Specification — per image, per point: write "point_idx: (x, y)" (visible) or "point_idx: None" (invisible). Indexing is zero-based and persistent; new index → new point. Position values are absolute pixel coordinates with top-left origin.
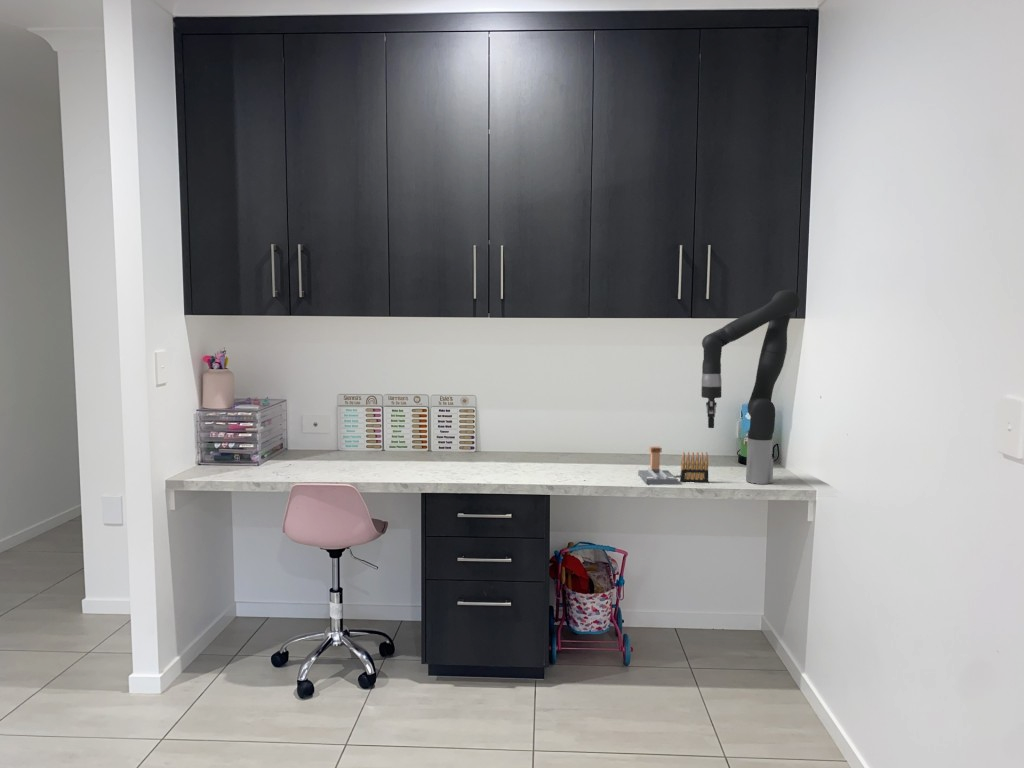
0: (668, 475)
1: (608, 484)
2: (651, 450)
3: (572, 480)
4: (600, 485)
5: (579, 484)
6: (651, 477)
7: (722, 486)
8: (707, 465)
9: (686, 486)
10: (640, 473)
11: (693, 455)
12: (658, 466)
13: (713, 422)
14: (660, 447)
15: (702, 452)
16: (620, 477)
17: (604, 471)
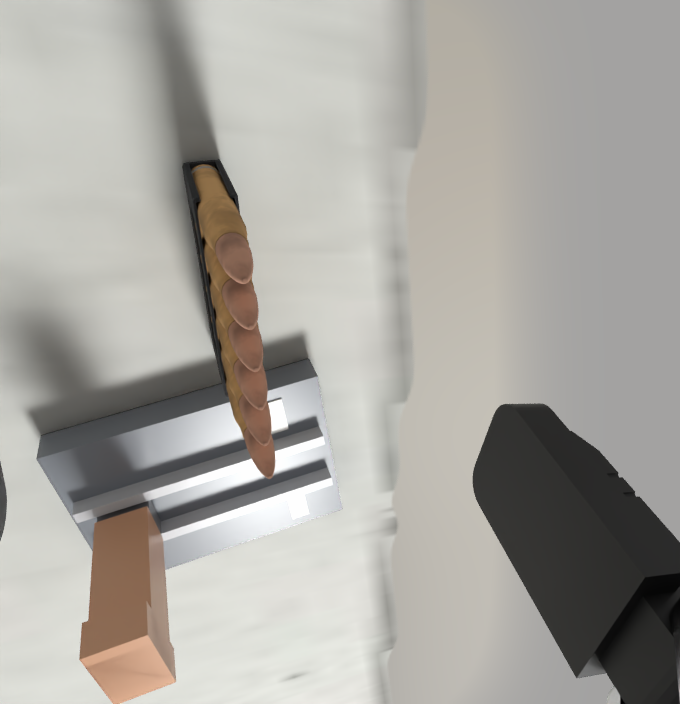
0: (216, 433)
1: (353, 601)
2: (172, 660)
3: (304, 699)
4: (373, 615)
5: (365, 664)
6: (301, 499)
7: (322, 51)
8: (239, 216)
9: (353, 307)
10: (177, 561)
11: (265, 383)
12: (150, 525)
13: (605, 492)
14: (122, 647)
15: (251, 321)
16: (201, 606)
17: (80, 688)
